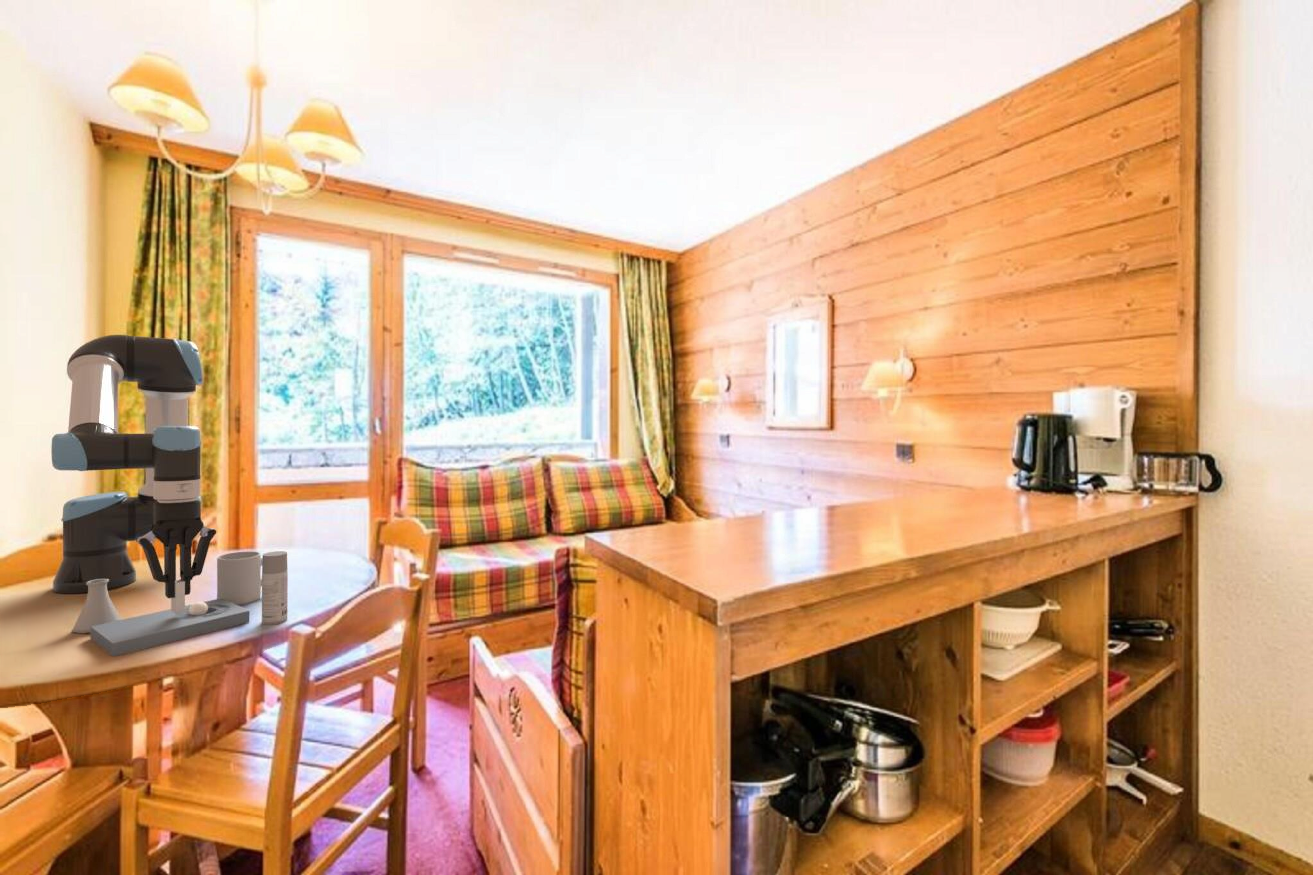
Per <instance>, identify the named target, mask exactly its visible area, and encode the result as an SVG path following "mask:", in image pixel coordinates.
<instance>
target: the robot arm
mask: <svg viewBox="0 0 1313 875" xmlns="http://www.w3.org/2000/svg"><path fill="white" fill-rule="evenodd" d="M66 374H67V377H68V379H69V380H70V381H71V394H70V405H69V417H68V430H67V432H66V433H56V434H55V435H53V437H52V439H51V447H50V448H51V450H50V451H51V464H52V467H53V468H54V469H55V470H58V471H78V472H85V471H87V472H88V471H104V470H105V471H108V470H110V471H111V470H135V469H137V470H138V469H139V470H140V469H142V470H143V469H145V483H144V485H142V486H141V487H140V488H138V489H137V496H128V494H127V492H125V491H115V492H114V491H113V492H112V491H111V492H103V493H97V494H89V495H85V496H80V497H76V498H72V499H69V500H67V501H66V502H65V503H64V505H63V506H62V518H61V519H60V520H61V522H62V560H61V561H60V565H59V567H58V570H57V572H56V574H55V576H54V579H53V581H52V591H53V592H54V593H58V594H82V593H88V585H86V582H88V581H91V580H96V579H109V582H107V590H110V589H115V588H119V587H124V586H127V585H128V584H129V585H130V584H132V583H133V582H135V581H136V580H137V571H136V568H135V567H134V564H133V562H132V559H131V558H130V556H129V553H128V551H127V550H128V544H127V543H128V542H134V541H135V542H136V543H137V544H138V545H139V546H140V547H142V549H143V552H144V555H145V558H146V562H147V565H148V567H149V571H150V573H151V576H152V579H153V580H154V581H156V582H159V583H164V592H165V593H164V596H165V597H166V598H167V599H170V603H171V604H170V609H171V611H172V612H173V613H175V614H178V613H183V612H185V606H186V596H189V595H191V581H192V580H193V579H194V577H197V576H200V575H201V574H202V572H203V569H204V565H205V562H206V559H207V556H208V551H209V548H210V545H211V541H212V539H213V538H214V536H215V535H216V534H217V530H216V529H214V528H212V527H208V526H205V524H204V522H203V521H202V518H201V517H202V493H201V492H202V490H201V488H202V487H201V486H202V484H201V483H202V482H201V480H202V479H201V460H202V458H201V455H202V452H201V451H202V450H201V449H202V448H201V447H202V441H203V440H202V439H201V429H200V428H199V427H198V426H195V425H194V426H193V425H189V398H190V397H191V396H192V395H193V394H195V393H196V392H197V386H202V385H204V379H203V376H204V375H203V368H202V362H201V357H200V352H199V349H198V347H197V344H195V343H194V342H192V341H187V340H182V339H175V338H165V337H164V338H163V337H149V336H138V335H137V336H135V335H126V334H111V335H110V334H109V335H104V336H100V337H97V338H94V339H92V340H90V341H89V340H88V342H86V343H84V344H82V345H81V346H79V347H78V348H77V349H76V350H75V351H74V352H73V353H72V354H71V356H70V357H69V358H68V361H67V365H66ZM122 382H129V383H130V382H132V383H137V390H138V391H139V392H140V393H141V394H143V395H144V397H145V433H119V385H120V383H122ZM198 534H199V536H200V538H199V540H198V543H197V547H196V550H195V554H194V558H193V561H192V548H193V540H195V538H196V537H197V535H198ZM156 539H157V540H158V541H160V543H161V544H163V552H164V553H163V556H164V557H163V559H164V560H163V561H164V562H163V563H164V564H163V565H164V566H163V568H164V569H162V566H161V562H160V559H159V557H158V554H157V551H156V548H155V546H154V543H155V540H156ZM177 546H178V547H179V577H180V578H178V579H177V548H178V547H177ZM163 571H164V572H163Z"/></svg>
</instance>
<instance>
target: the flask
mask: <svg viewBox="0 0 1313 875" xmlns="http://www.w3.org/2000/svg"><path fill="white" fill-rule="evenodd" d="M107 582H109V579H96V580H91V581H88V582H86V585H88V592H87V595H86V600H85V602H84V604H83V607H82V609H81V611H80V613H79V615H78V618H77V620H76V622H75V624H74V626H73V627H72V629H71V632H72V633H77V634H88V633H89V634H91V626H95V625H100V624H104V623H109V622H114V621H118V620H123V618H122V617H121V616H120V614H119V612H118V610H117V609H116V606H115V605H114V603H113V601H112V599H111V598H110V595H109V591H108V589H107Z"/></svg>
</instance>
